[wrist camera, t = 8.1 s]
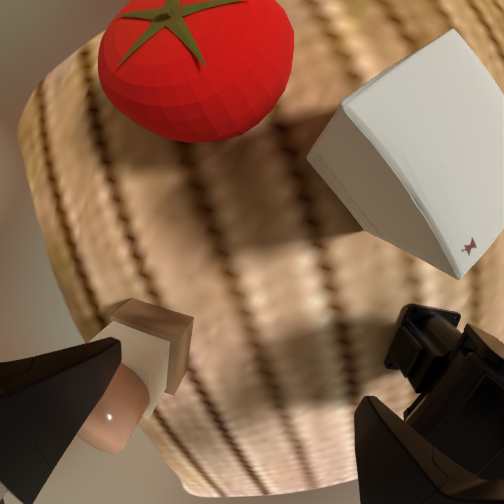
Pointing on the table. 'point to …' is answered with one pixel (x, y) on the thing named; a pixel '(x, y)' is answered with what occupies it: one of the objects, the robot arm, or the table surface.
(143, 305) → the walnut base block
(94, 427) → the brown rounded lump
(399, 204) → the supplement box
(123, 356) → the cream block
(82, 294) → the table surface
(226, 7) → the tomato
